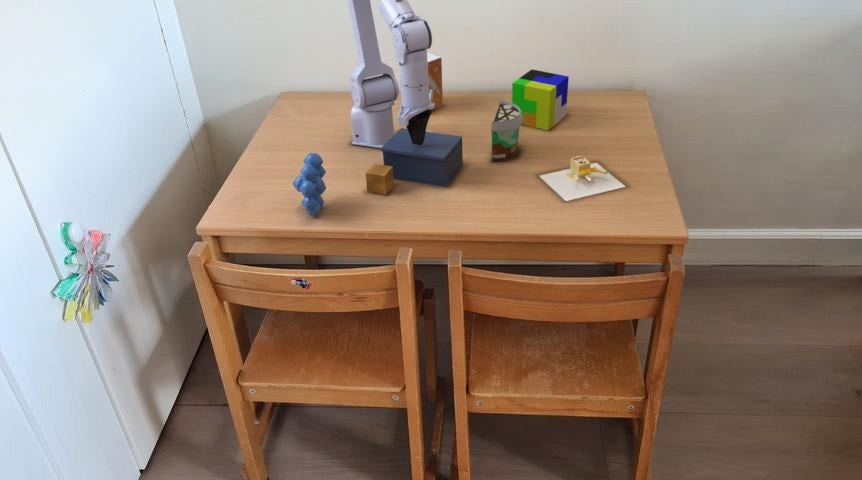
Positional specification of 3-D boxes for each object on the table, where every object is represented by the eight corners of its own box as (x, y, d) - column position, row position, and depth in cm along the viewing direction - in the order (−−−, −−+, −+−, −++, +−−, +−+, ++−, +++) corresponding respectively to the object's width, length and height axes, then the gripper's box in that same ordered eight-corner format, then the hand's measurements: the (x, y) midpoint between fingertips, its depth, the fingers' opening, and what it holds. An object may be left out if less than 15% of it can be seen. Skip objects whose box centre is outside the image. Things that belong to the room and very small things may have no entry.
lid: (444, 160, 159) (444, 157, 158) (380, 151, 163) (380, 148, 163) (462, 139, 167) (462, 136, 167) (401, 131, 172) (401, 127, 171)
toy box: (447, 187, 163) (446, 160, 160) (384, 177, 168) (382, 151, 164) (462, 165, 171) (462, 140, 167) (403, 156, 175) (401, 131, 172)
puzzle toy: (566, 115, 191) (568, 76, 185) (548, 130, 184) (550, 90, 178) (530, 107, 195) (531, 69, 189) (511, 121, 188) (512, 83, 182)
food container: (518, 165, 170) (519, 124, 164) (491, 164, 171) (491, 122, 165) (524, 141, 180) (526, 101, 174) (499, 139, 181) (499, 99, 175)
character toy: (579, 174, 158) (560, 158, 164) (578, 188, 160) (560, 172, 166) (612, 166, 160) (593, 151, 166) (611, 180, 162) (592, 164, 168)
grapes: (303, 194, 163) (295, 143, 156) (334, 195, 162) (327, 143, 155) (289, 223, 154) (279, 170, 146) (322, 224, 153) (314, 171, 146)
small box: (420, 115, 193) (418, 65, 185) (404, 108, 197) (400, 59, 189) (443, 105, 197) (442, 56, 190) (427, 99, 201) (424, 50, 193)
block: (367, 192, 163) (365, 172, 160) (375, 182, 166) (374, 163, 163) (386, 195, 161) (384, 175, 159) (394, 185, 165) (392, 166, 162)
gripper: (419, 98, 148) (422, 161, 156) (445, 71, 159) (447, 131, 167) (385, 94, 150) (391, 156, 158) (414, 67, 161) (417, 127, 169)
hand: (418, 143), depth 163 cm, fingers closed
